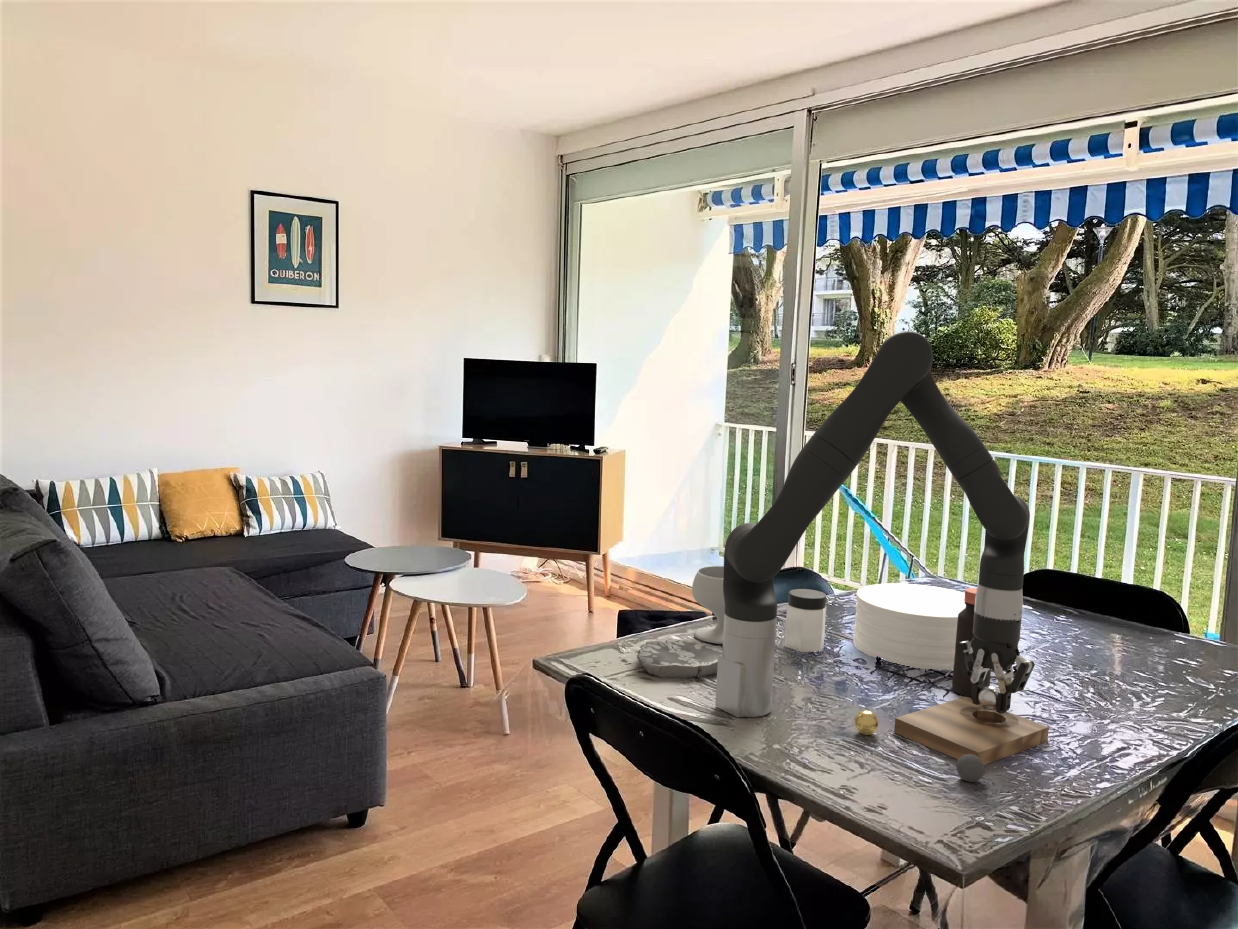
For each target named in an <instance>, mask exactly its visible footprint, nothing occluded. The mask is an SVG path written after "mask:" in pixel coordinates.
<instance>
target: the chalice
mask: <svg viewBox="0 0 1238 929" xmlns="http://www.w3.org/2000/svg"><path fill="white" fill-rule="evenodd" d="M723 572H724V565H723V566H721V565H718V566H716V565H715V566H705V567H701V568H699V569H698V570H697V572H696V573H695V575H694V578H693V581H692V586H691V594H692V597H693V599H694V600H695V602H696V603H698V605H700V606H702V607H703V608H705V609H706V610H708V611H709V612H711V613H712V614H713V615H714V616H715V618H716V619H717V620H716V621H717V623H716V626H707V627H702V628H698V629H696V630H695V631H694V633H693V636H694V637H695V638H696V639H698V640H700V641H703V642H705V643H709V644H711V643H712V644H717V645H718V644H719V645H723V631H724V613H725V601H724V594H723Z"/></svg>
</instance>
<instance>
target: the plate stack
mask: <svg viewBox="0 0 1238 929" xmlns="http://www.w3.org/2000/svg"><path fill="white" fill-rule="evenodd" d="M964 599H965V592H962V591H959V590H955V589H951V588H944V587H940V586H933V585H925V584H915V583H899V582H898V583H891V582H889V583H876V584H870V585H867V586H866V585H865V586H863V587H861V588H859V589H858V590H856V597H855V600H856V603H855V612H856V613H855V614H854V623H855V624H854V626H853V627H854V628H853V633H854V634H853V638H852V639H853V640H852V642H853V645H854V647H855V646H856V647H855V648H856V649H857V650H858V651H860V650H861V651H862V653H863V652H864V653H863V654H864V655H866V654H867V655H866V656H869V657H871V656H873V657H877V656H879V657H881V658H883V659H885V660H887V661H889V662H893V663H897V664H901V665H905V666H904V667H906V666H910V667H909V668H912V667H914V668H915V669H919V668H920V669H921V670H928V669H943V670H942V671H952V670H951V669H954V657H955V645H956V633H957V621H958V614H959V613H960V612H961V611H962V610H963V609H965V608H966V604H965V603H964V602H965V601H964ZM861 651H860V652H861ZM873 657H872V658H873ZM901 665H900V666H901ZM914 668H913V669H914ZM945 669H946V670H945Z"/></svg>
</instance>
